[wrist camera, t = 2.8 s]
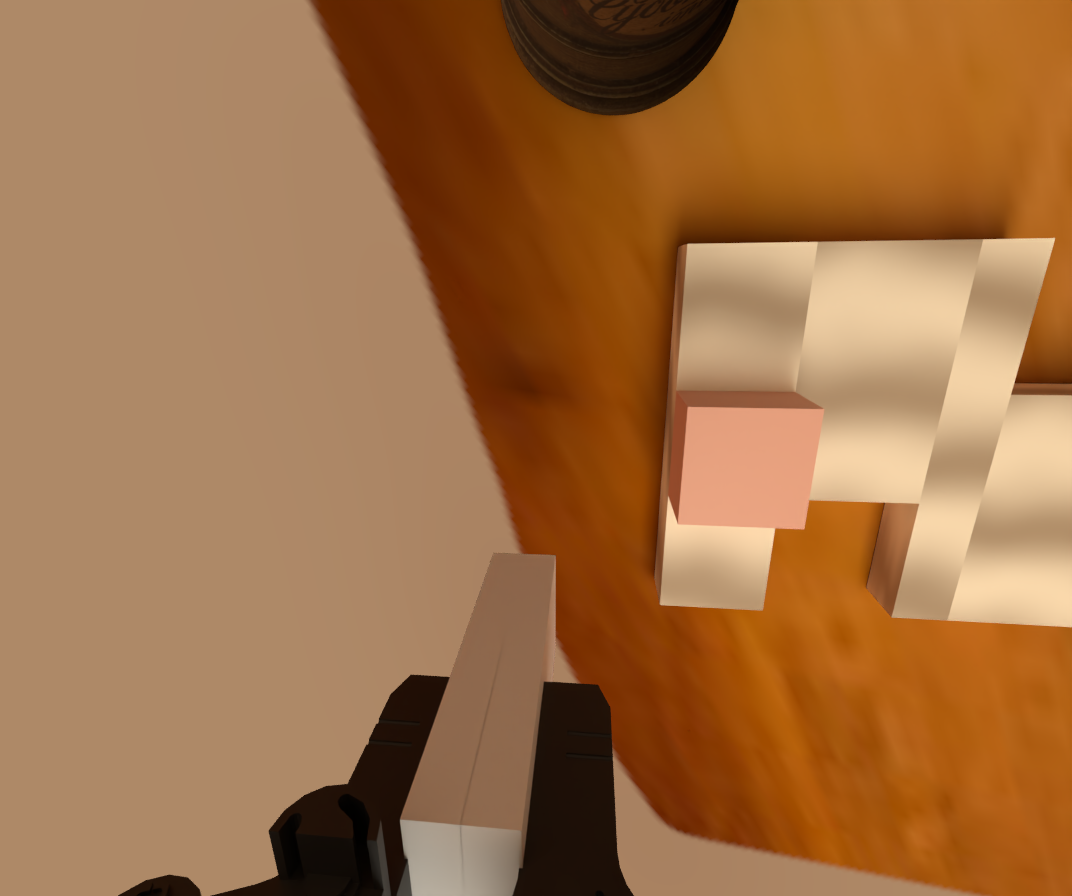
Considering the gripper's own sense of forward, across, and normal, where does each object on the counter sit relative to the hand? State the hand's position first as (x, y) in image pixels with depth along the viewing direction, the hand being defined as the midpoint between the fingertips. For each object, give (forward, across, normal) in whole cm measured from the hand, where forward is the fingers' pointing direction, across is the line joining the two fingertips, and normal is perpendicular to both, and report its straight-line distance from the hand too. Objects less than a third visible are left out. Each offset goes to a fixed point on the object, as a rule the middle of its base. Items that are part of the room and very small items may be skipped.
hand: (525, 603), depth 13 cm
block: (+12, +8, 0) cm, 14 cm away
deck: (+15, +17, 0) cm, 23 cm away
